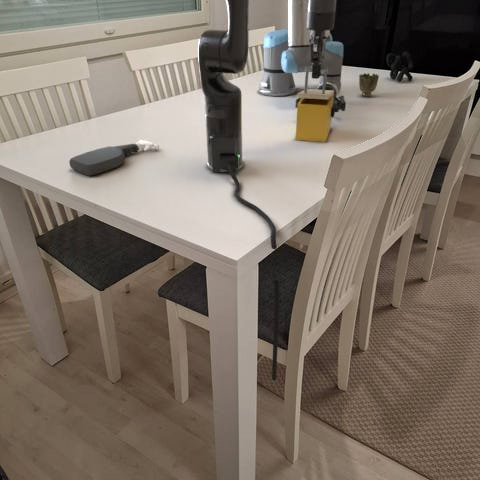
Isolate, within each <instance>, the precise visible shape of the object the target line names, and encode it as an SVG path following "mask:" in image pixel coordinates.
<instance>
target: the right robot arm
mask: <svg viewBox="0 0 480 480" xmlns="http://www.w3.org/2000/svg"><path fill="white" fill-rule="evenodd" d="M307 3H308V0H287V29H277V30H273V31H269V32H267V33H266V34H265V35H264V38H263V46H262V47H263V73H262V77H261V79H260V83H259V86H258V93H259V94H260V95H263V96H266V97H267V96H268V97H288V96H291V95H294V94H296V90H297V87H296V83H295V79H294V76H293V75H294V74H298V73H299V74H300V73H306V72H305V68H306V66H307V67H312V65H313V64H312V63H311V47H310V45H311V37H313V35H314V31H313V30H308V29H307V28H306V19H307ZM325 37H327V42H326V46H325V53H324V58H323V62H322V66H321V67H328V72H327V76H326V86H325V90H334V98H333V106H332V108H331V117H332V118H334V116H335V113H339V112H340V111H342V112H346V107H347V102H346V100H345V95H340V96H339V93H340V91H341V89H342V81H341V80H342V69H343V60H344V44H343V43H342V42H340V41H333V36H332V34H331V30H325ZM323 79H324V73H322V72H321V76H320V77H319V85H318V86H317V87H316V90H322V89H323ZM300 100H301V98H297V99H295V104H294V105H295V106H294V107H295V108H296V109H297V104H298V103H299V101H300Z"/></svg>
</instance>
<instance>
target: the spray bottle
mask: <svg viewBox="0 0 480 480" xmlns="http://www.w3.org/2000/svg"><path fill="white" fill-rule="evenodd" d="M159 148H160V145H159V144H158V143H155V142H151V141H148V140H144V139H139V140H138V141H137V142H135V143H129V144H128V143H126V144H122V145H113V146H105V147H100V148H97V149H94V150H90V151H87V152H83V153H81V154H78V155H74V156H73V157H70V159H69V161H68V162H69V167H70V168H71V169H72V170H74V171H75V172H78V173H81V174H83V175H85V176H89V177H90V176H91V177H92V176H95V175H99V174H102V173H105V172H107V171H110V170H113V169H116V168H118V167H120V166H122V165H123V164H124V163H125V158H126V156H127V155H131V154H133V153H138V151H140V150H143V151H144V152H146V151H147V150H149V149H159Z"/></svg>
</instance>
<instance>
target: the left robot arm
mask: <svg viewBox="0 0 480 480" xmlns="http://www.w3.org/2000/svg"><path fill="white" fill-rule="evenodd" d="M225 3H226V8H227V18H228V19H227V20H228V21H227V22H228V26H227V30H225V29H206V30H204V31H203V32H202V33H201V34H200V37H199V39H198V46H197V58H198V59H197V60H198V69H199V77H200V88H201V92H202V94H203V99H204V100H203V101H204V116H205V117H204V118H205V133H206V134H205V135H206V151H207V152H206V153H207V168H208V169H209V170H211V172H212V173H229V174H230V177H231V179H232V180H233V182H234V184H235V189H234V191H233V195H234V197H235V199H236V200H237V201H238V202H240V203H241V204H242V205H244V206H246V207H248V208H250V209H252V210H253V211H254V212H256V213H257V214H258V215H259V216H261V217H262V219H264V220H265V222H266V223H267V225H268V226H269V229H270V245H271V249H272V250H277V229H276V226H275V224H274V222H273V221H272V219H271V218H270V217H269V216H268V215H267V214H266V213H265V212H264V211H263V210H262V209H260V208H259V207H258V206H257V205H255V204H254V203H252V202H249V201H247V200H245V199H244V198H242V197H241V196H240V195H239V192H240V190H241V189H240V187H241V184H240V182H239V180H238V178H237V176H236V173H237V171H239V170H240V169H242V168H243V166H244V160H243V114H242V113H243V109H242V108H243V106H242V105H243V104H242V103H243V102H242V101H243V100H242V99H243V98H242V96H243V95H242V90H241V88H240V87H239V86H237V85H235V84H233V83H232V82H230V81H229V80H228V79H227V78H226V76H225V74H231V75H239V74H241V73H243V71H244V70H245V68H246V66H247V63H248V56H249V43H250V42H249V39H250V38H249V37H250V36H249V35H250V34H249V33H250V31H249V29H250V27H249V26H250V25H249V24H250V23H249V21H250V20H249V19H250V18H249V17H250V16H249V15H250V13H249V12H250V11H249V10H250V9H249V8H250V0H225ZM336 10H337V0H308V3H307V19H306V28H307V29H308V30H313V31H314V35H313V37H311V45H310V47H311V63H312V64H313V65H312V72H311V79H317V80H318V79H320V76H321V72H320V67H321V66H322V62H323V58H324V53H325V46H326V42H327V37H325V30H329V31H332V30H333V29H334V28H335V20H336ZM273 295H274V300H273V301H274V302H273V303H274V304H273V305H274V309H273V312H274V313H273V338H272V339H273V340H272V341H273V342H272V368H271V380H272V381H276V380H277V367H278V349H279V348H278V347H279V345H278V343H279V329H280V328H279V325H280V324H279V323H280V280H279V279H274V280H273Z"/></svg>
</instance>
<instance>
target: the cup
mask: <svg viewBox="0 0 480 480" xmlns="http://www.w3.org/2000/svg"><path fill="white" fill-rule="evenodd" d="M379 77H380V75H379V74H378V73H373V74H371V75H370V73H369V72H368V73H365V72H364V73H363V74H362V73H361V74H359V77H358V79H359V80H358V84H359V85H358V86H359V90H360V91H361V95H362V97H366V98H367V97H371V96H372V93H373V92H374V91H375V90H376V88H377V86H378V81H379Z"/></svg>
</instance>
